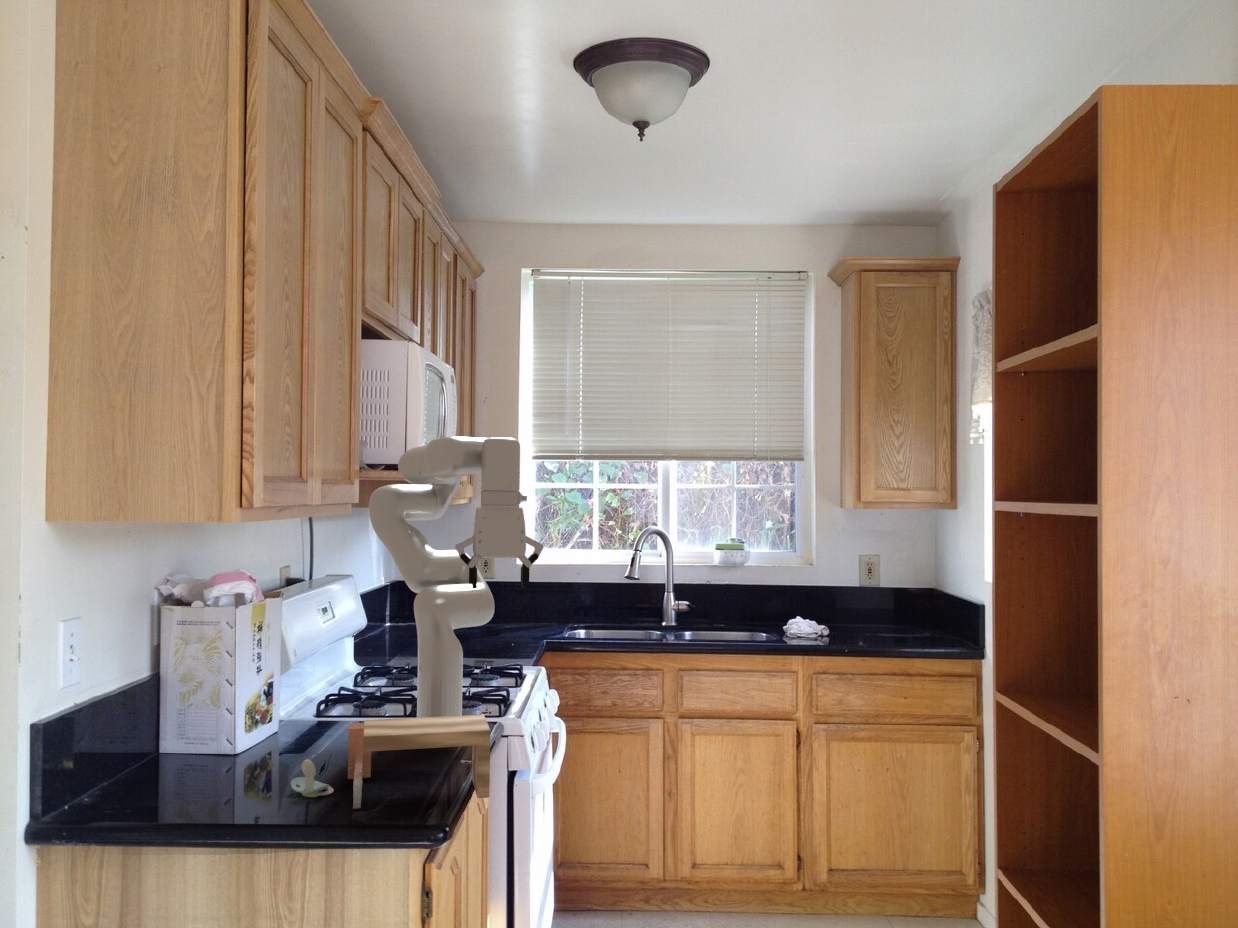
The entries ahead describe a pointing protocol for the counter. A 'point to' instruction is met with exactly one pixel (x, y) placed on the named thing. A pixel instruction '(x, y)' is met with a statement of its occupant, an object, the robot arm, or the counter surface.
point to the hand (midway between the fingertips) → (499, 587)
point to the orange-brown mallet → (357, 760)
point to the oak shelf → (436, 739)
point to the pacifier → (310, 782)
